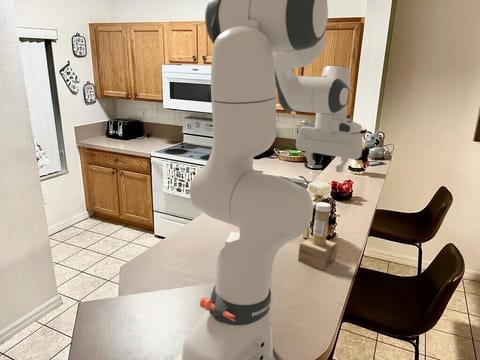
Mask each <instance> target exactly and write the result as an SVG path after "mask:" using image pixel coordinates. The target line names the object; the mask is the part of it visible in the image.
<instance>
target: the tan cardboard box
mask: <svg viewBox="0 0 480 360" xmlns="http://www.w3.org/2000/svg"><path fill="white" fill-rule="evenodd" d="M312 240H313V235H312V236H310V237H309V238H307V239H306V240H304V241H302V242H301V243H299V246H298V247H299V248H298V256H297V257H298V258H297V261H298V262H300V263H303V264H305V265H308V266H310V267H313V268H316V269H318V270H321V271H325V270H326V269H327V268H328V267H329V266H330V265H332V264H333V263H334V262H336V258H337V250H338V243H337V242H335V241H330V240H327V239H326V244H325V245H323V246H318V245H315V244H313V243H312Z"/></svg>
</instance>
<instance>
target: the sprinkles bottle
mask: <svg viewBox="0 0 480 360" xmlns="http://www.w3.org/2000/svg"><path fill="white" fill-rule="evenodd" d="M331 206H332V205H331V204H330V203H327V202H323V201H322V202H320V201H319V202H316V204H315V216H314V223H313V231H312V236H313V240H312V243H313V244H315V245H318V246H323V245H325V244H326V240H327V235H328V228H329V217H330V212H331Z"/></svg>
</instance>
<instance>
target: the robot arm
mask: <svg viewBox="0 0 480 360" xmlns="http://www.w3.org/2000/svg"><path fill="white" fill-rule="evenodd" d="M328 19H329V8H328V0H208V3H207V6H206V8H205V14H204V22H205V29H206V32H207V34H208V35H207V36H208V37H209V39H210V40H211V43H212V44H213V46H212V54H211V65H210V95H211V97H210V98H211V99H210V100H211V109H212V110H211V111H212V112H211V113H212V137H213V138H212V145H211V146H212V147H211V151H210V155H209V158H208V160H207V161H206V163H205V164H204V165H203V166H202V167H201V168H199V170H198V171H197V172H196V173H195V175H194V176H193V178H192V180H191V182H190V187H189V188H190V189H189V196H190V201H191V203H192V205H193V206H194V208H196V209H198V210H199V211H200V212H202V213H203V214H205V215H206V216H208V217H210V218H212V219H215V220H217V221H221V222H224V223H226V224H229V225H232V226H235V227H237V228H238V230H239V233H240V237H239V240H235V241H232V242H230V243H228V244H226V245H225V244H224V245H223V246H222V248H221V249H220V250H219V252H218V253H217V255H216V263H215V264H216V265H215V284H214V286H213V289H212V291H211V295H210V298H209V299H208V297H206V296H202V298H201V299H200V300H199V304H198V305H199V307H200V308H202V309H205V312H204V313H203V314H202V315H201V317H200V318H199V320H198V321H197V323H195V326H193V328H192V329H191V331H189V333H188V335H187V336H186V337H185V340H184V342H183V346H182V350H181V351H179V353H178V354H177V355H176V356H175V357H174V358H172V360H276V358H275V356H274V351H273V349H274V348H273V347H274V343H273V342H274V340H273V339H274V338H273V337H274V333H273V326H272V322H271V318H270V314H269V312H270V310H271V303H272V291H271V288H270V286H271V277H272V269H273V264H274V261H275V257H276V255H277V254H278V252H279V250H280V249H281V248H282V247H283V246H284V245H286V244H287V243H288V242H291V241H292V240H295V239H297V238H298V237H300V236H301V235H303V233H305V231H306V230H307V229H308V227H309V225H310V224H311V221H312V218H313V213H314V206H313V205H314V204H313V201H312V196H311V194H310V193H309V190H308V189H307V188H306V187H303V186H301V185H299V184H297V183H295V182H293V181H291V180H288V179H286V178H284V177H279V176H275V175H270V174H265V173H262V172H257V171H255V170H254V167H253V165H254V157H256V156H259V155H261V154H263V153H264V152H266V151H268V150H269V149H270V148H271V146H272V145H273V143H274V142H275V140H276V138H277V100H278V104H279V105H280V106H281V108H282V109H284V111H285V112H304V113H315V121H309V120H303V121H301V122H300V123H299V124H298V130H297V131H298V133H297V137H296V142H295V147H296V149H297V151H303V152H305V154H304V155H305V158H306V159H307V166H308V167H314V166H315V164H316V160H314V159H313V156H312V155H313V153H315V154H320V155H325V156H330V157H331V156H332V157H337V158H340V161H341V163H340V164H339V165H336V169H335V171H336V172H338V173H343V171H344V167H345V165H346V164H347V162H348V161H349V160H358V159H359V158H361V156H362V153H363V136H362V135H361V132H362V128H363V127H362V125H361V124H360V123H357V122H355V121H353V120H351V119H349V118H348V117H347V116H348V112H347V106H348V103H349V100H350V93H351V72H350V69H349V68H347V67H345V66H341V65H335V64H334V65H327V66H325V67H323V69H322V72H321V76H310V75H309V76H306V75H305V76H304V75H298V74H294V72H293V70H294V69H301V68H304V67H307V66H309V65H311V64H312V63H313V62H314V61H315V60H317V59H318V58H319V56H320V55H321V54H322V53H323V50H324V48H325V46H326V43H327V30H326V28H327V24H328Z"/></svg>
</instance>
